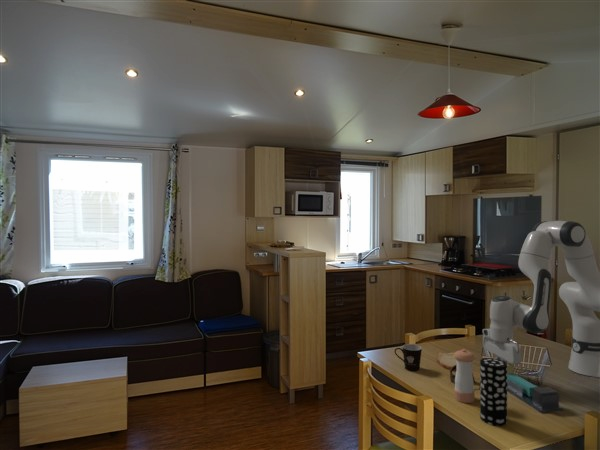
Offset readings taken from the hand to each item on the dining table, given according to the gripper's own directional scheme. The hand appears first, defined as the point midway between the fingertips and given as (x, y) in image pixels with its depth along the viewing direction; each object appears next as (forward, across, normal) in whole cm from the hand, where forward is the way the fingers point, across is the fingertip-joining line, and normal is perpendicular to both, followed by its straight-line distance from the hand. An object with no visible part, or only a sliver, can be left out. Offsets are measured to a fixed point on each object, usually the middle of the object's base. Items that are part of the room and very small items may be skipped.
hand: (501, 367), depth 168 cm
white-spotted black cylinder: (+6, -29, +24) cm, 38 cm away
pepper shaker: (+6, -13, +25) cm, 29 cm away
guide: (+6, -15, 0) cm, 16 cm away
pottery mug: (+6, +3, +17) cm, 18 cm away
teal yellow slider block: (+4, -11, 0) cm, 12 cm away
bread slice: (+6, +22, +10) cm, 25 cm away
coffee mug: (+6, +20, +32) cm, 38 cm away
